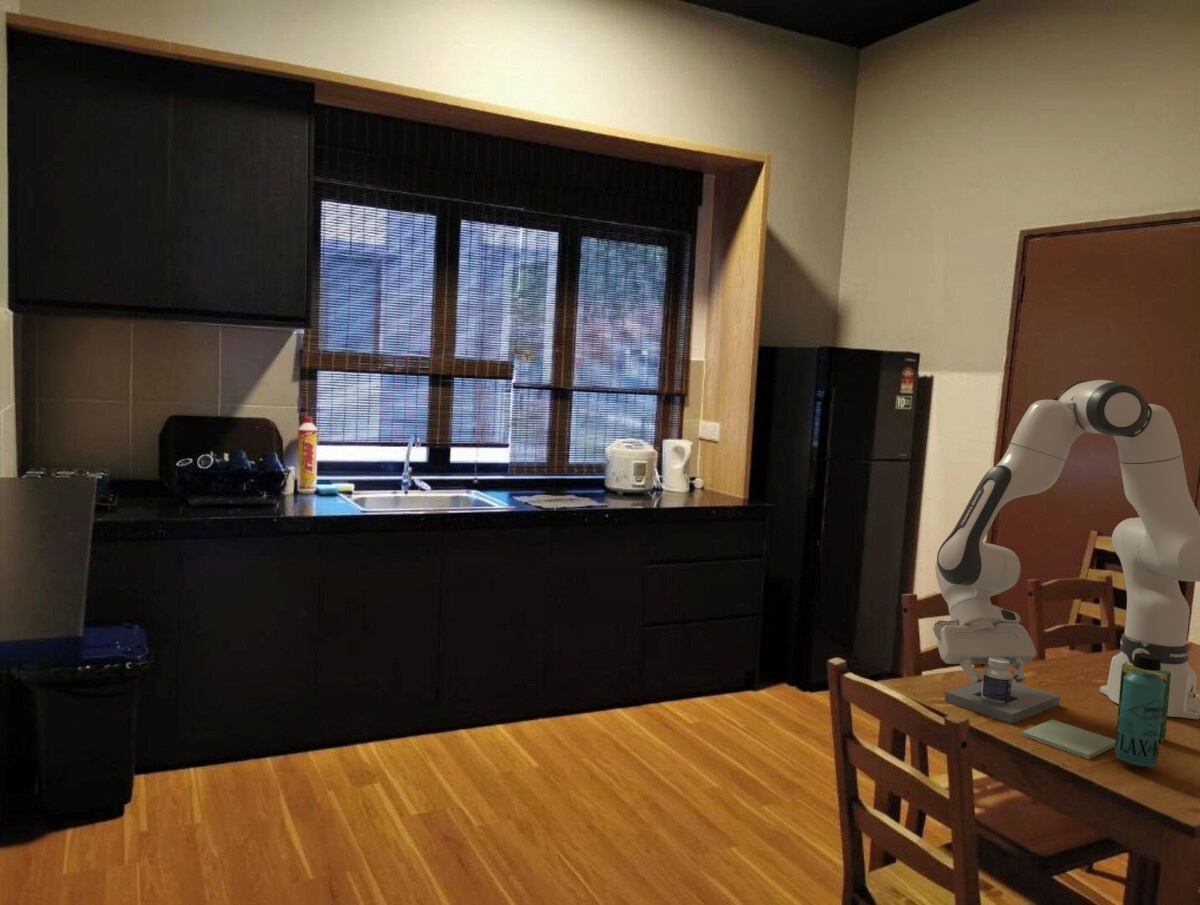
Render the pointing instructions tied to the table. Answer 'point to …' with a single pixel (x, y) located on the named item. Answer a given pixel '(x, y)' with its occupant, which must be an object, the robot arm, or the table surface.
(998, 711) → the frame
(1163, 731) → the coffee box
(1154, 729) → the beverage bottle
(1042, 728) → the mat
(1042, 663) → the table surface
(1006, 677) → the pill bottle
